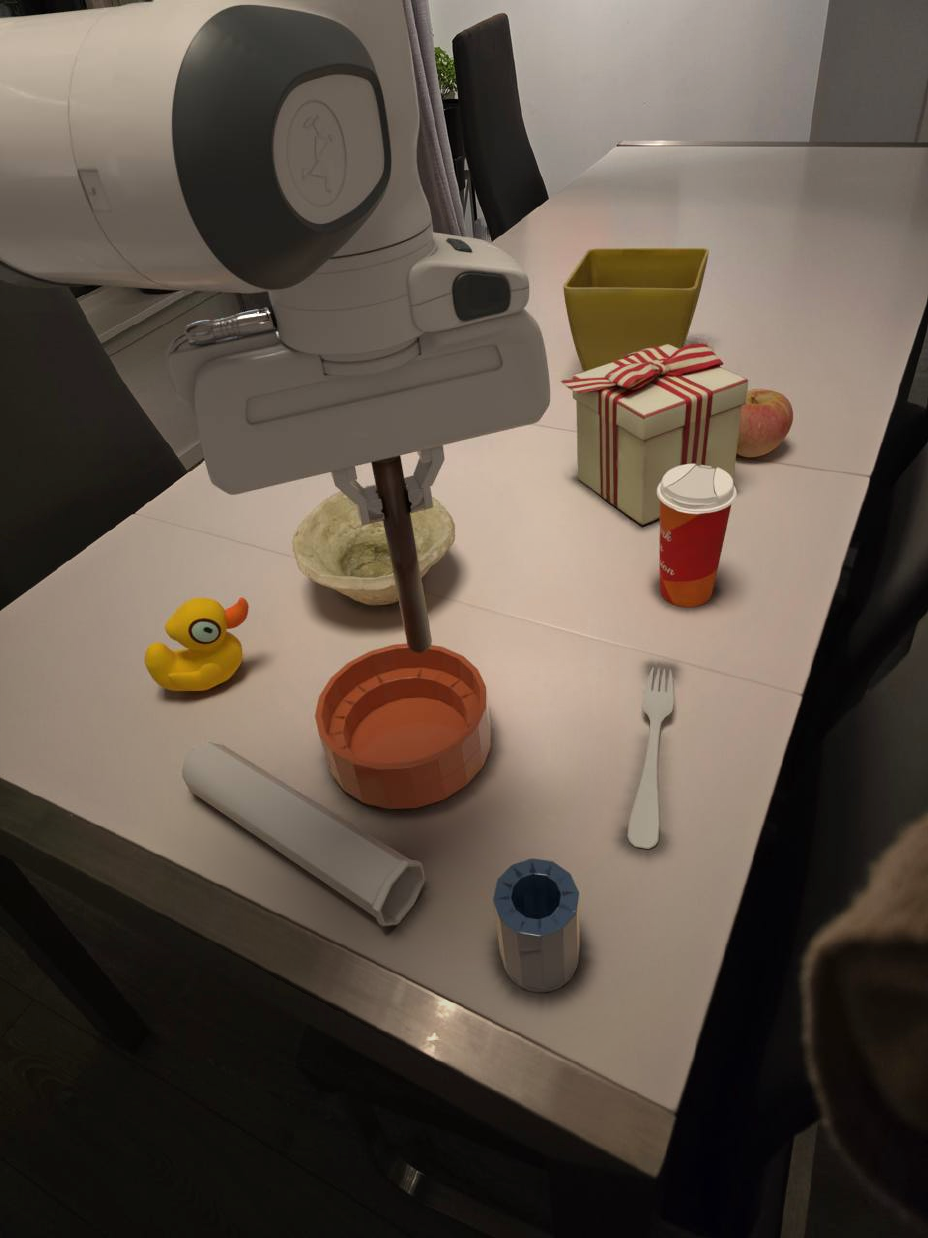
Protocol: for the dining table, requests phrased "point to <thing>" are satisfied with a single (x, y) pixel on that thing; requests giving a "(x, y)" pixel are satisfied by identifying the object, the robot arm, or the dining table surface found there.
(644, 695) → the fork
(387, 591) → the bowl
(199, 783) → the tube
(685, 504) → the paper cup
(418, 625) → the stirring stick
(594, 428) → the gift box
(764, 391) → the apple
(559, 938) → the crock
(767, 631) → the dining table surface
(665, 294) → the flower pot
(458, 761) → the orange round shallow dish
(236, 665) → the duckling
